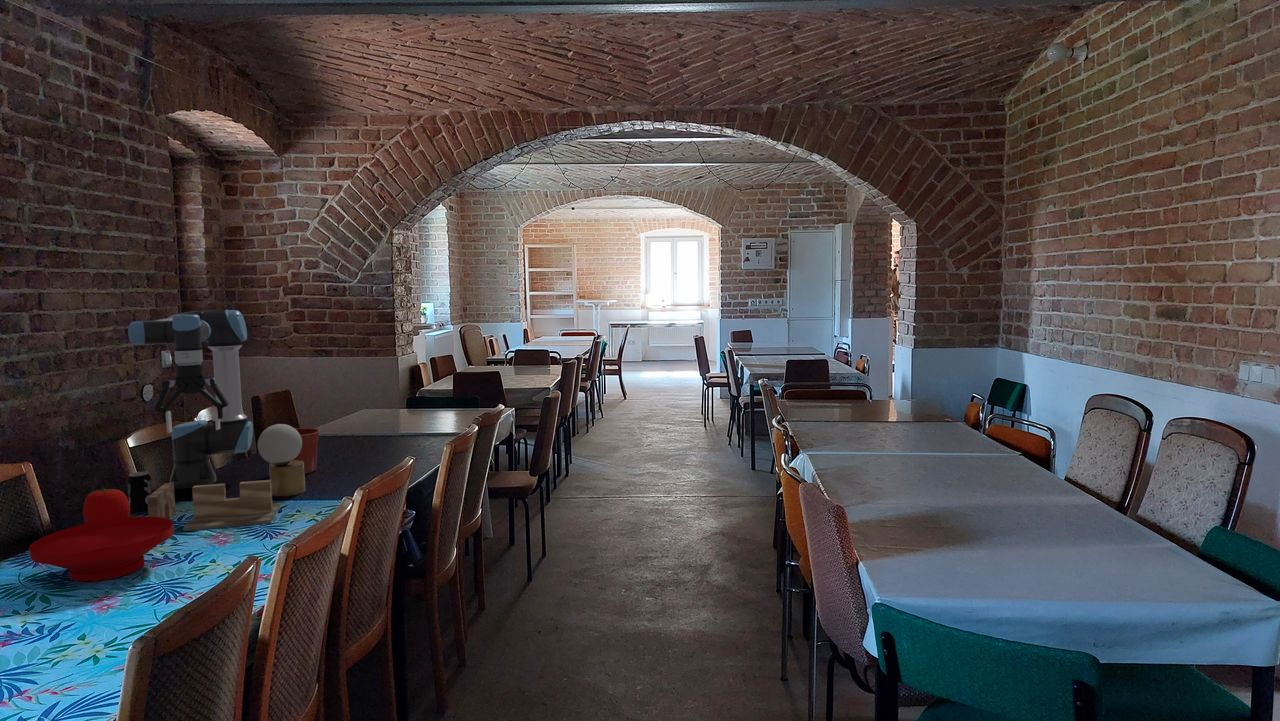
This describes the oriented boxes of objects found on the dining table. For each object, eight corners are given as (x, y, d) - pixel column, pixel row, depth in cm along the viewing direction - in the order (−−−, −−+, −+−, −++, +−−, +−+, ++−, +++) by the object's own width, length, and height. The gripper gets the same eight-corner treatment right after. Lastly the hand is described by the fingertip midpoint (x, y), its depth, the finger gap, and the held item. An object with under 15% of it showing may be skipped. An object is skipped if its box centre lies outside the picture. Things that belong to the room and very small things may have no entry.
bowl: (202, 557, 209) (199, 521, 208) (90, 600, 180) (86, 559, 179) (120, 546, 218) (118, 512, 218) (2, 586, 190) (-2, 546, 189)
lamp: (283, 501, 263) (279, 428, 261) (251, 498, 268) (246, 426, 265) (315, 489, 278) (312, 421, 275) (284, 487, 282) (280, 419, 280)
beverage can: (141, 512, 252) (138, 476, 251) (124, 511, 254) (121, 475, 253) (158, 506, 259) (155, 471, 258) (141, 505, 260) (138, 470, 259)
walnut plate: (166, 513, 251) (164, 483, 250) (175, 512, 251) (173, 482, 250) (149, 529, 233) (147, 497, 233) (159, 528, 234) (156, 496, 233)
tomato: (74, 537, 227) (70, 490, 226) (112, 526, 238) (108, 481, 236) (104, 541, 223) (100, 493, 222) (141, 529, 233) (138, 484, 232)
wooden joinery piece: (199, 512, 251) (197, 479, 250) (280, 505, 258) (278, 473, 257) (183, 531, 232) (180, 495, 231) (270, 522, 239) (268, 488, 238)
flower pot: (311, 476, 298) (309, 435, 296) (269, 476, 298) (266, 436, 297) (329, 466, 314) (326, 427, 313) (289, 467, 315) (286, 428, 313)
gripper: (139, 366, 234) (145, 435, 236) (231, 363, 242) (235, 430, 244) (147, 364, 241) (152, 431, 243) (235, 361, 249) (240, 426, 251)
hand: (194, 430), depth 243 cm, fingers open, 13 cm apart
